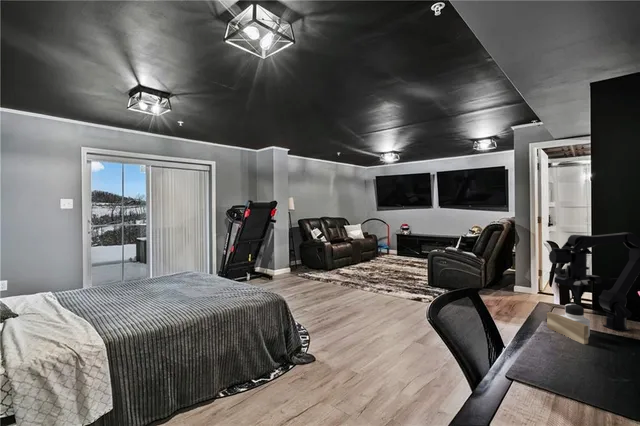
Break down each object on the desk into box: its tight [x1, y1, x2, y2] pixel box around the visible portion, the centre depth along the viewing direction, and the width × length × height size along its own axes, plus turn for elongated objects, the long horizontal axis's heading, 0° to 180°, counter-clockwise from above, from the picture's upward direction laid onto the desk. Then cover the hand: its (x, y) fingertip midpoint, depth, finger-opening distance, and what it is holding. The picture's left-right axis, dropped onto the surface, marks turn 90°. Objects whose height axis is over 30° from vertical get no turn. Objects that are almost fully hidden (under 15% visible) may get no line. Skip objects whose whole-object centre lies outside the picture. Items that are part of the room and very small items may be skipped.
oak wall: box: [546, 311, 589, 345], centre depth 129 cm, size 2×16×7 cm, turn 10°
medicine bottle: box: [559, 303, 591, 338], centre depth 131 cm, size 7×7×12 cm
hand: (577, 299), depth 138 cm, fingers closed
